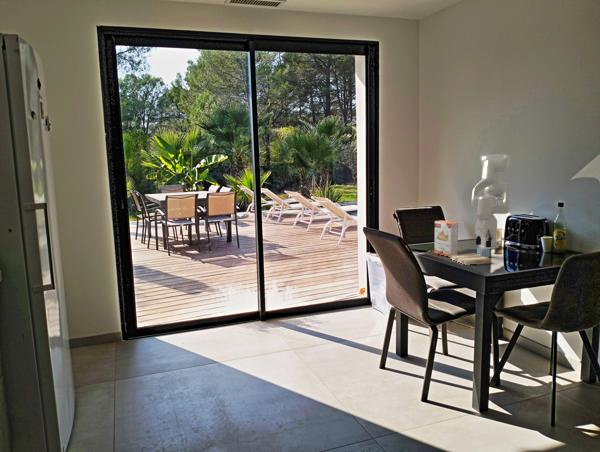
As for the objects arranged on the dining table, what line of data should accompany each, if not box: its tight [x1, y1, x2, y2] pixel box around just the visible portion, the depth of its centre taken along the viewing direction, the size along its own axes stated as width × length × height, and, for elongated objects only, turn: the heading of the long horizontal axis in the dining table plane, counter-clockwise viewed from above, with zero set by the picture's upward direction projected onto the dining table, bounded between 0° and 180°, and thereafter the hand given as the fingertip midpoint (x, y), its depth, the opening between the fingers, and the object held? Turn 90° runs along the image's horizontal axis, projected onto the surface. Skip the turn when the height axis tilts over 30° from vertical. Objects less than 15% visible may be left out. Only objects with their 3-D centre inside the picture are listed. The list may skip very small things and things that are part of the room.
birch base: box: [449, 252, 492, 266], centre depth 277 cm, size 16×16×2 cm
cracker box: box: [433, 219, 459, 258], centre depth 292 cm, size 14×6×21 cm, turn 27°
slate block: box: [476, 247, 491, 258], centre depth 288 cm, size 5×5×5 cm
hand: (483, 245), depth 286 cm, fingers open, 9 cm apart
